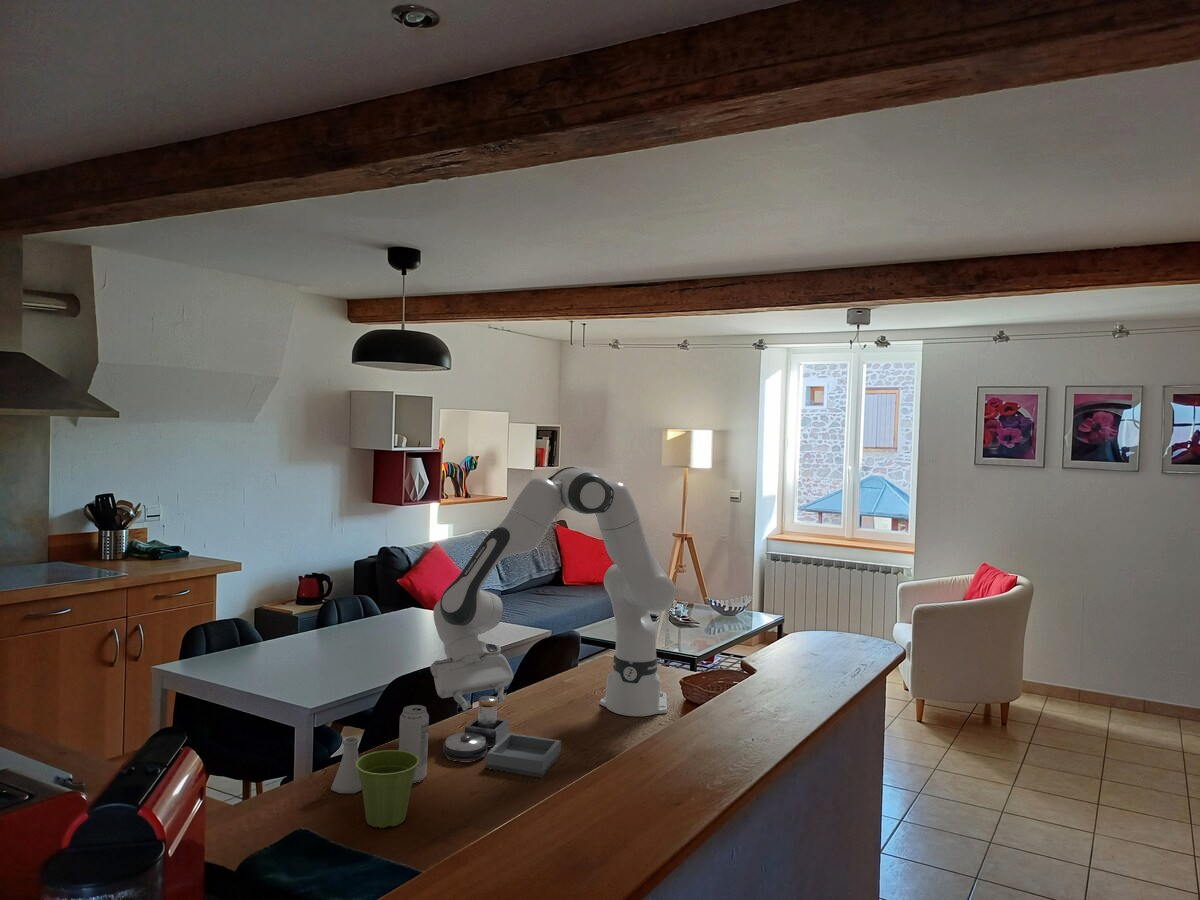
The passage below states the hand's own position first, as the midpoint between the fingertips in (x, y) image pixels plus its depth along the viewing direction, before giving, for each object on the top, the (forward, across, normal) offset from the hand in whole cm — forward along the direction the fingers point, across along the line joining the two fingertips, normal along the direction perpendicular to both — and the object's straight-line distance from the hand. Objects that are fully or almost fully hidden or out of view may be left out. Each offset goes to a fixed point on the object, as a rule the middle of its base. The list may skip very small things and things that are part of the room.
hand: (484, 706), depth 199 cm
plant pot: (+23, -37, -12) cm, 45 cm away
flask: (+11, -37, 0) cm, 39 cm away
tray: (+18, 0, -6) cm, 19 cm away
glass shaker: (+6, 0, +5) cm, 8 cm away
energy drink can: (+14, -25, -2) cm, 28 cm away
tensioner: (+8, -5, +3) cm, 10 cm away
